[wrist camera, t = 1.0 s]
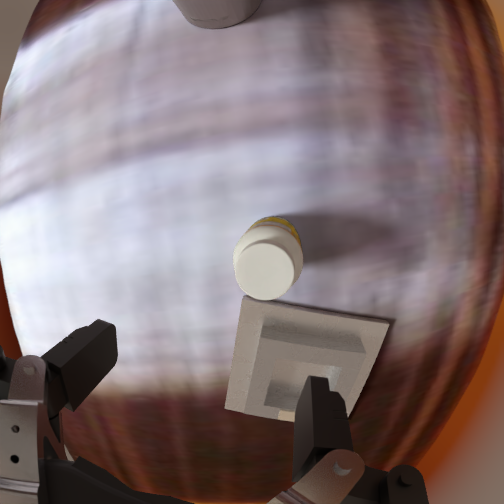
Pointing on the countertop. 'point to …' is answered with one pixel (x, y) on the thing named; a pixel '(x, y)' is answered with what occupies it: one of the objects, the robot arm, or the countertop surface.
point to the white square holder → (298, 356)
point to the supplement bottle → (268, 258)
